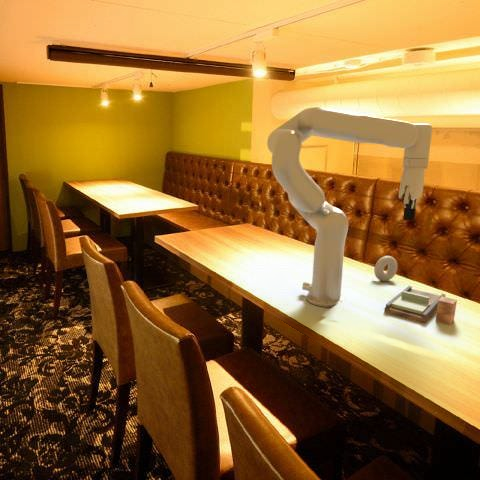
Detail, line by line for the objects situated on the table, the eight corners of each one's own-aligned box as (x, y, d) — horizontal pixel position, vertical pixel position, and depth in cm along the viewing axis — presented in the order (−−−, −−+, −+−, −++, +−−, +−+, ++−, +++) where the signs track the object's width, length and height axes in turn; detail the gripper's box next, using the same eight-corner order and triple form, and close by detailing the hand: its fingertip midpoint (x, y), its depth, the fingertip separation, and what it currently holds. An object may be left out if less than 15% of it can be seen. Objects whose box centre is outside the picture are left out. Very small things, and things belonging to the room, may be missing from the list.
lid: (391, 306, 134) (392, 297, 133) (400, 298, 140) (401, 290, 139) (422, 314, 129) (423, 305, 128) (430, 306, 135) (431, 297, 134)
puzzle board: (383, 316, 134) (385, 304, 133) (407, 296, 151) (409, 285, 150) (423, 328, 127) (425, 315, 126) (444, 305, 144) (446, 294, 143)
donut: (377, 284, 162) (379, 258, 160) (371, 281, 166) (373, 255, 163) (398, 280, 166) (400, 255, 164) (391, 278, 169) (394, 253, 167)
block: (434, 325, 129) (438, 300, 127) (439, 321, 132) (442, 296, 130) (449, 329, 127) (453, 303, 125) (453, 325, 130) (456, 299, 128)
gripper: (411, 161, 147) (405, 215, 152) (395, 164, 136) (389, 221, 141) (434, 163, 143) (427, 218, 147) (420, 165, 131) (412, 225, 136)
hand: (408, 219), depth 144 cm, fingers closed
